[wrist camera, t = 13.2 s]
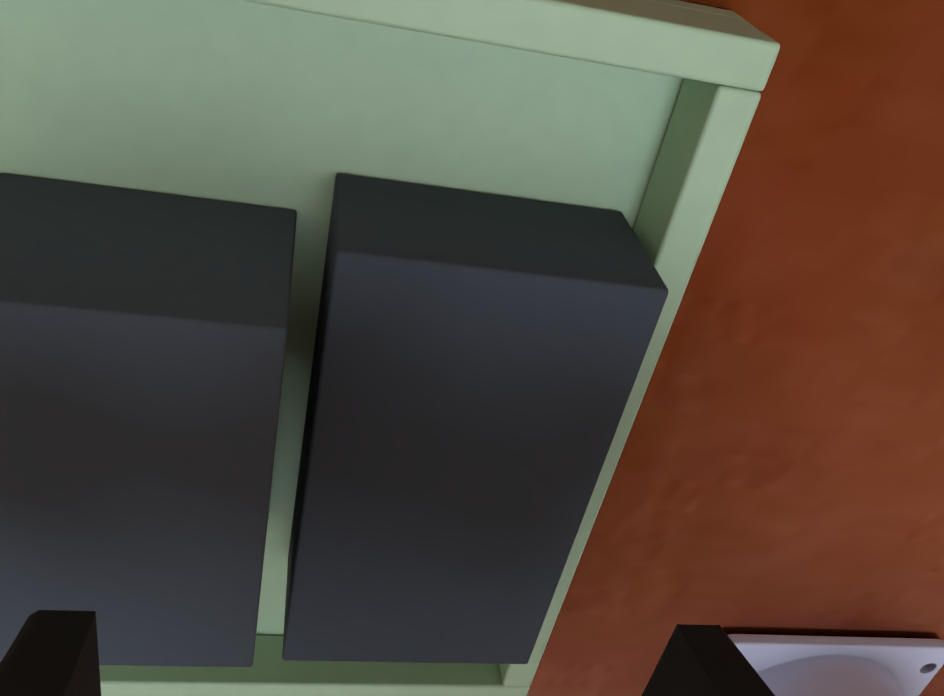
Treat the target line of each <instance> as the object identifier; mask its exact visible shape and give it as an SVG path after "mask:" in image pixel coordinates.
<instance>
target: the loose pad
mask: <svg viewBox="0 0 944 696" xmlns="http://www.w3.org/2000/svg"><path fill="white" fill-rule="evenodd" d="M296 221H297V211H296V210H292V209H284V208H276V207H268V206H261V205H253V204H245V203H237V202H229V201H221V200H213V199H205V198H197V197H190V196H182V195H174V194H166V193H158V192H150V191H142V190H134V189H126V188H119V187H111V186H103V185H95V184H87V183H79V182H71V181H63V180H55V179H48V178H40V177H32V176H24V175H16V174H8V173H0V662H1V661H2V659H3V658H4V656H5V654H6V653H7V651H8V650H9V648H10V646H11V645H12V643H13V642H14V640H15V638H16V637H17V635H18V633H19V632H20V630H21V628H22V626H23V625H24V623H25V621H26V620H27V618H28V616H30V615H31V614H33V613H34V612H36V611H37V610H70V611H96V624H97V639H98V654H99V665H123V666H196V667H252V665H253V659H254V650H255V640H256V630H257V621H258V611H259V601H260V592H261V582H262V572H263V562H264V553H265V543H266V533H267V524H268V514H269V504H270V495H271V485H272V475H273V466H274V456H275V446H276V437H277V427H278V417H279V408H280V398H281V388H282V378H283V369H284V359H285V349H286V340H287V330H288V318H289V306H290V294H291V281H292V269H293V257H294V245H295V233H296Z"/></svg>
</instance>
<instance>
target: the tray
mask: <svg viewBox="0 0 944 696" xmlns="http://www.w3.org/2000/svg"><path fill="white" fill-rule="evenodd" d="M779 50H780V44H779V43H777V42H776V41H775V40H773V39H772V38H770V37H769V36H767V35H766V34H764V33H763V32H761V31H760V30H759V29H757V28H756V27H754V26H753V25H751V24H750V23H748V22H747V21H746V20H744V19H743V18H742V17H740V16H739V15H737V14H736V13H734V12H733V11H730V10H725V9H719V8H714V7H709V6H704V5H699V4H694V3H689V2H684V1H679V0H0V173H8V174H16V175H24V176H32V177H40V178H48V179H55V180H63V181H71V182H79V183H87V184H95V185H103V186H111V187H119V188H126V189H134V190H142V191H150V192H158V193H166V194H174V195H182V196H190V197H197V198H205V199H213V200H221V201H229V202H237V203H245V204H253V205H261V206H268V207H276V208H284V209H292V210H296V211H297V221H296V233H295V245H294V257H293V269H292V281H291V294H290V306H289V318H288V330H287V340H286V349H285V359H284V369H283V378H282V388H281V398H280V408H279V417H278V427H277V437H276V446H275V456H274V466H273V475H272V485H271V495H270V504H269V514H268V524H267V533H266V543H265V553H264V562H263V572H262V582H261V592H260V601H259V611H258V621H257V630H256V640H255V650H254V659H253V665H252V667H196V666H123V665H99V670H100V685H101V696H527V693H528V691H529V688H530V685H531V683H532V680H533V678H534V675H535V673H536V670H537V668H538V665H539V662H540V660H541V657H542V655H543V652H544V650H545V647H546V645H547V642H548V639H549V637H550V634H551V632H552V629H553V627H554V624H555V622H556V619H557V617H558V614H559V611H560V609H561V606H562V604H563V601H564V599H565V596H566V594H567V591H568V588H569V586H570V583H571V581H572V578H573V576H574V573H575V571H576V568H577V565H578V563H579V560H580V558H581V555H582V553H583V550H584V548H585V545H586V542H587V540H588V537H589V535H590V532H591V530H592V527H593V525H594V522H595V519H596V517H597V514H598V512H599V509H600V507H601V504H602V502H603V499H604V496H605V494H606V491H607V489H608V486H609V484H610V481H611V479H612V476H613V473H614V471H615V468H616V466H617V463H618V461H619V458H620V456H621V453H622V450H623V448H624V445H625V443H626V440H627V438H628V435H629V433H630V430H631V427H632V425H633V422H634V420H635V417H636V415H637V412H638V410H639V407H640V404H641V402H642V399H643V397H644V394H645V392H646V389H647V387H648V384H649V381H650V379H651V376H652V374H653V371H654V369H655V366H656V364H657V361H658V358H659V356H660V353H661V351H662V348H663V346H664V343H665V341H666V338H667V335H668V333H669V330H670V328H671V325H672V323H673V320H674V318H675V315H676V312H677V310H678V307H679V305H680V302H681V300H682V297H683V295H684V292H685V289H686V287H687V284H688V282H689V279H690V277H691V274H692V272H693V269H694V266H695V264H696V261H697V259H698V256H699V254H700V251H701V249H702V246H703V243H704V241H705V238H706V236H707V233H708V231H709V228H710V226H711V223H712V221H713V218H714V215H715V213H716V210H717V208H718V205H719V203H720V200H721V198H722V195H723V192H724V190H725V187H726V185H727V182H728V180H729V177H730V175H731V172H732V169H733V167H734V164H735V162H736V159H737V157H738V154H739V152H740V149H741V146H742V144H743V141H744V139H745V136H746V134H747V131H748V129H749V126H750V123H751V121H752V118H753V116H754V113H755V111H756V108H757V106H758V103H759V100H760V96H761V95H760V93H759V92H758V91H763V89H764V88H765V85H766V83H767V80H768V78H769V75H770V73H771V70H772V68H773V65H774V62H775V60H776V57H777V55H778V52H779ZM338 173H342V174H349V175H356V176H364V177H371V178H378V179H386V180H393V181H400V182H407V183H415V184H422V185H429V186H436V187H444V188H451V189H458V190H466V191H473V192H480V193H487V194H495V195H502V196H509V197H517V198H524V199H531V200H538V201H546V202H553V203H560V204H567V205H575V206H582V207H589V208H597V209H604V210H611V211H618V212H621V213H623V215H624V217H625V218H626V220H627V222H628V223H629V225H630V227H631V228H632V230H633V232H634V233H635V235H636V237H637V238H638V240H639V242H640V243H641V245H642V247H643V248H644V250H645V252H646V253H647V255H648V257H649V258H650V260H651V262H652V263H653V265H654V267H655V268H656V270H657V272H658V273H659V275H660V277H661V278H662V280H663V282H664V283H665V285H666V287H667V288H668V296H667V298H666V301H665V304H664V306H663V309H662V312H661V314H660V317H659V319H658V322H657V325H656V327H655V330H654V333H653V335H652V338H651V341H650V343H649V346H648V348H647V351H646V354H645V356H644V359H643V362H642V364H641V367H640V369H639V372H638V375H637V377H636V380H635V383H634V385H633V388H632V391H631V393H630V396H629V398H628V401H627V404H626V406H625V409H624V412H623V414H622V417H621V419H620V422H619V425H618V427H617V430H616V433H615V435H614V438H613V441H612V443H611V446H610V448H609V451H608V454H607V456H606V459H605V462H604V464H603V467H602V469H601V472H600V475H599V477H598V480H597V483H596V485H595V488H594V491H593V493H592V496H591V498H590V501H589V504H588V506H587V509H586V512H585V514H584V517H583V519H582V522H581V525H580V527H579V530H578V533H577V535H576V538H575V541H574V543H573V546H572V548H571V551H570V554H569V556H568V559H567V562H566V564H565V567H564V569H563V572H562V575H561V577H560V580H559V583H558V585H557V588H556V591H555V593H554V596H553V598H552V601H551V604H550V606H549V609H548V612H547V614H546V617H545V619H544V622H543V625H542V627H541V630H540V633H539V635H538V638H537V641H536V643H535V646H534V648H533V651H532V654H531V656H530V659H529V662H528V663H527V664H480V663H416V662H352V661H288V660H283V658H282V652H283V635H284V618H285V601H286V584H287V567H288V553H289V545H290V537H291V529H292V521H293V513H294V505H295V497H296V489H297V481H298V473H299V465H300V457H301V449H302V441H303V433H304V425H305V417H306V409H307V401H308V393H309V385H310V377H311V369H312V361H313V353H314V345H315V337H316V329H317V321H318V313H319V305H320V297H321V289H322V281H323V273H324V265H325V257H326V249H327V241H328V233H329V225H330V217H331V209H332V201H333V193H334V185H335V177H336V175H337V174H338Z"/></svg>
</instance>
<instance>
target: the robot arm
mask: <svg viewBox="0 0 944 696" xmlns="http://www.w3.org/2000/svg"><path fill="white" fill-rule="evenodd" d="M943 664H944V641H943V640H939V639H923V638H883V637H843V636H803V635H763V634H729V635H727V634H726V633H725V632H724V630H723V629H722V628H721V627H720V625H681V624H677V626H676V628H675V630H674V632H673V634H672V636H671V638H670V640H669V642H668V644H667V646H666V648H665V650H664V652H663V654H662V656H661V658H660V660H659V662H658V664H657V666H656V668H655V670H654V672H653V674H652V676H651V678H650V680H649V682H648V684H647V686H646V688H645V690H644V692H643V694H642V696H919V695H920V693H921V692H922V691H923V690H924V688H925V687H926V686H927V685H928V683H929V682H930V681H931V680H932V678H933V677H934V676H935V674H936V673H937V672H938V671H939V669H940V668H941V667H942V666H943ZM0 696H101V685H100V670H99V654H98V639H97V624H96V611H70V610H37V611H36V612H34V613H33V614H31V615H30V616H28V618H27V620H26V621H25V623H24V625H23V626H22V628H21V630H20V632H19V633H18V635H17V637H16V638H15V640H14V642H13V643H12V645H11V646H10V648H9V650H8V651H7V653H6V654H5V656H4V658H3V659H2V661H1V662H0Z"/></svg>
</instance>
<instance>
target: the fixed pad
mask: <svg viewBox="0 0 944 696" xmlns="http://www.w3.org/2000/svg"><path fill="white" fill-rule="evenodd" d="M667 296H668V288H667V287H666V285H665V283H664V282H663V280H662V278H661V277H660V275H659V273H658V272H657V270H656V268H655V267H654V265H653V263H652V262H651V260H650V258H649V257H648V255H647V253H646V252H645V250H644V248H643V247H642V245H641V243H640V242H639V240H638V238H637V237H636V235H635V233H634V232H633V230H632V228H631V227H630V225H629V223H628V222H627V220H626V218H625V217H624V215H623V213H621V212H618V211H611V210H604V209H597V208H589V207H582V206H575V205H567V204H560V203H553V202H546V201H538V200H531V199H524V198H517V197H509V196H502V195H495V194H487V193H480V192H473V191H466V190H458V189H451V188H444V187H436V186H429V185H422V184H415V183H407V182H400V181H393V180H386V179H378V178H371V177H364V176H356V175H349V174H342V173H338V174H337V175H336V177H335V185H334V193H333V201H332V209H331V217H330V225H329V233H328V241H327V249H326V257H325V265H324V273H323V281H322V289H321V297H320V305H319V313H318V321H317V329H316V337H315V345H314V353H313V361H312V369H311V377H310V385H309V393H308V401H307V409H306V417H305V425H304V433H303V441H302V449H301V457H300V465H299V473H298V481H297V489H296V497H295V505H294V513H293V521H292V529H291V537H290V545H289V553H288V567H287V584H286V601H285V618H284V635H283V652H282V658H283V660H288V661H352V662H416V663H480V664H527V663H528V662H529V659H530V656H531V654H532V651H533V648H534V646H535V643H536V641H537V638H538V635H539V633H540V630H541V627H542V625H543V622H544V619H545V617H546V614H547V612H548V609H549V606H550V604H551V601H552V598H553V596H554V593H555V591H556V588H557V585H558V583H559V580H560V577H561V575H562V572H563V569H564V567H565V564H566V562H567V559H568V556H569V554H570V551H571V548H572V546H573V543H574V541H575V538H576V535H577V533H578V530H579V527H580V525H581V522H582V519H583V517H584V514H585V512H586V509H587V506H588V504H589V501H590V498H591V496H592V493H593V491H594V488H595V485H596V483H597V480H598V477H599V475H600V472H601V469H602V467H603V464H604V462H605V459H606V456H607V454H608V451H609V448H610V446H611V443H612V441H613V438H614V435H615V433H616V430H617V427H618V425H619V422H620V419H621V417H622V414H623V412H624V409H625V406H626V404H627V401H628V398H629V396H630V393H631V391H632V388H633V385H634V383H635V380H636V377H637V375H638V372H639V369H640V367H641V364H642V362H643V359H644V356H645V354H646V351H647V348H648V346H649V343H650V341H651V338H652V335H653V333H654V330H655V327H656V325H657V322H658V319H659V317H660V314H661V312H662V309H663V306H664V304H665V301H666V298H667Z"/></svg>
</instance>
